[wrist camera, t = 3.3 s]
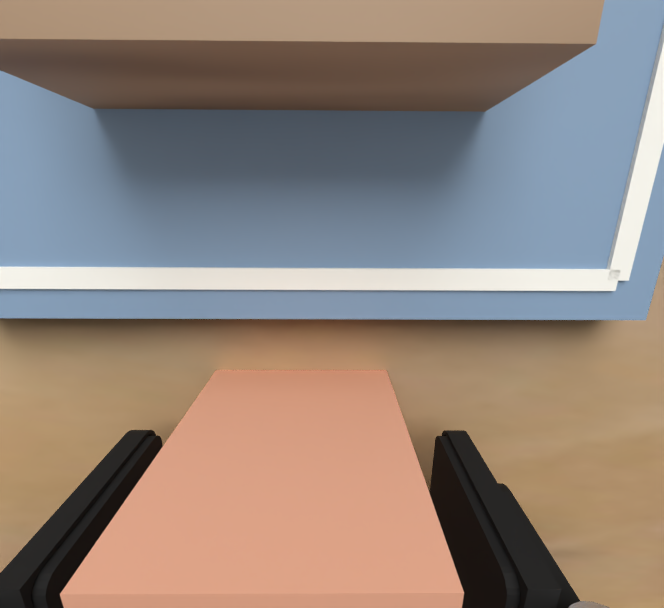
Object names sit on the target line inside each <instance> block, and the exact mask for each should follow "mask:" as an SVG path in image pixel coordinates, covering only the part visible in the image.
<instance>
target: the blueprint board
mask: <svg viewBox="0 0 664 608" xmlns="http://www.w3.org/2000/svg"><path fill="white" fill-rule="evenodd" d="M663 256H664V0H604V6H603V11H602V16H601V22H600V27H599V32H598V37H597V43H596V44H595V45H594V46H592V47H590V48H589V49H587V50H585V51H584V52H582V53H580V54H579V55H577V56H576V57H574V58H572V59H571V60H569V61H567V62H566V63H564V64H562V65H561V66H559V67H558V68H556V69H554V70H553V71H551V72H549V73H548V74H546V75H544V76H543V77H541V78H540V79H538V80H536V81H535V82H533V83H531V84H530V85H528V86H526V87H525V88H523V89H522V90H520V91H518V92H517V93H515V94H513V95H512V96H510V97H508V98H507V99H505V100H504V101H502V102H500V103H499V104H497V105H495V106H494V107H492V108H490V109H489V110H487V111H486V112H475V111H335V110H195V109H93V108H90V107H88V106H85V105H83V104H81V103H78V102H76V101H73V100H71V99H69V98H66V97H64V96H61V95H59V94H56V93H54V92H52V91H49V90H47V89H44V88H42V87H40V86H37V85H35V84H32V83H30V82H27V81H25V80H23V79H20V78H18V77H15V76H13V75H10V74H8V73H6V72H3V71H1V70H0V318H91V319H429V320H646V317H647V314H648V310H649V307H650V303H651V299H652V296H653V292H654V289H655V285H656V281H657V278H658V274H659V271H660V267H661V263H662V260H663Z"/></svg>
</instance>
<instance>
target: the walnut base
mask: <svg viewBox="0 0 664 608" xmlns="http://www.w3.org/2000/svg"><path fill="white" fill-rule="evenodd" d="M603 6H604V0H0V70H1V71H3V72H6V73H8V74H10V75H13V76H15V77H18V78H20V79H23V80H25V81H27V82H30V83H32V84H35V85H37V86H40V87H42V88H44V89H47V90H49V91H52V92H54V93H56V94H59V95H61V96H64V97H66V98H69V99H71V100H73V101H76V102H78V103H81V104H83V105H85V106H88V107H90V108H93V109H195V110H335V111H475V112H486V111H487V110H489V109H490V108H492V107H494V106H495V105H497V104H499V103H500V102H502V101H504V100H505V99H507V98H508V97H510V96H512V95H513V94H515V93H517V92H518V91H520V90H522V89H523V88H525V87H526V86H528V85H530V84H531V83H533V82H535V81H536V80H538V79H540V78H541V77H543V76H544V75H546V74H548V73H549V72H551V71H553V70H554V69H556V68H558V67H559V66H561V65H562V64H564V63H566V62H567V61H569V60H571V59H572V58H574V57H576V56H577V55H579V54H580V53H582V52H584V51H585V50H587V49H589V48H590V47H592V46H594V45H595V44H596V43H597V37H598V32H599V27H600V22H601V16H602V11H603Z"/></svg>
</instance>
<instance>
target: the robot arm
mask: <svg viewBox="0 0 664 608" xmlns="http://www.w3.org/2000/svg"><path fill="white" fill-rule="evenodd" d="M162 447H163V446H162V440H161V438H160V436H156V434H155V432H154V431H152V430H131V431H129V432H127V433H126V434H125V435H124V436H123V438H122V439H121V440H120V441H119V442H118V443H117V444H116V445H115V446H114V448H113V449H112V450H111V451H110V452H109V453H108V454H107V455H106V456H105V458H104V459H103V460H102V461H101V462H100V463H99V464H98V465H97V466H96V468H95V469H94V470H93V471H92V472H91V473H90V474H89V475H88V476H87V478H86V479H85V480H84V481H83V482H82V483H81V484H80V485H79V486H78V488H77V489H76V490H75V491H74V492H73V493H72V494H71V495H70V496H69V498H68V499H67V500H66V501H65V502H64V503H63V504H62V505H61V506H60V508H59V509H58V510H57V511H56V512H55V513H54V514H53V515H52V516H51V518H50V519H49V520H48V521H47V522H46V523H45V524H44V525H43V526H42V528H41V529H40V530H39V531H38V532H37V533H36V534H35V535H34V536H33V538H32V539H31V540H30V541H29V542H28V543H27V544H26V545H25V546H24V548H23V549H22V550H21V551H20V552H19V553H18V554H17V555H16V557H15V558H14V559H13V560H12V561H11V562H10V563H9V564H8V565H7V567H6V568H5V569H4V570H3V571H2V572H1V573H0V608H64V607H63V604H62V600H61V597H60V593H61V592H62V591H63V589H64V588H65V586H66V585H67V583H68V582H69V580H70V579H71V578H72V576H73V575H74V573H75V572H76V570H77V569H78V568H79V566H80V565H81V563H82V562H83V560H84V559H85V557H86V556H87V555H88V553H89V552H90V550H91V549H92V547H93V546H94V545H95V543H96V542H97V540H98V539H99V537H100V536H101V534H102V533H103V532H104V530H105V529H106V527H107V526H108V524H109V523H110V522H111V520H112V519H113V517H114V516H115V514H116V513H117V512H118V510H119V509H120V507H121V506H122V504H123V503H124V501H125V500H126V499H127V497H128V496H129V494H130V493H131V491H132V490H133V489H134V487H135V486H136V484H137V483H138V481H139V480H140V478H141V477H142V476H143V474H144V473H145V471H146V470H147V468H148V467H149V466H150V464H151V463H152V461H153V460H154V458H155V457H156V456H157V454H158V453H159V451H160V450H161V448H162ZM430 496H431V499H432V502H433V505H434V508H435V511H436V514H437V516H438V519H439V522H440V525H441V528H442V531H443V534H444V537H445V539H446V542H447V545H448V548H449V551H450V554H451V557H452V560H453V562H454V565H455V568H456V571H457V574H458V577H459V580H460V583H461V585H462V588H463V591H464V597H463V604H462V608H609V607H607V606H604V605H601V604H598V603H595V602H587V601H580V600H579V598H578V597H577V595H576V594H575V592H574V591H573V589H572V587H571V586H570V584H569V583H568V581H567V580H566V578H565V576H564V575H563V573H562V572H561V570H560V568H559V567H558V565H557V564H556V562H555V561H554V559H553V557H552V556H551V554H550V553H549V551H548V549H547V548H546V546H545V545H544V543H543V542H542V540H541V538H540V537H539V535H538V534H537V532H536V531H535V529H534V527H533V526H532V524H531V523H530V521H529V519H528V518H527V516H526V515H525V513H524V512H523V510H522V508H521V507H520V505H519V504H518V502H517V501H516V499H515V497H514V496H513V494H512V493H511V491H510V490H509V489H508V487H507V486H506V485H504V484H498V483H497V482H496V480H495V478H494V477H493V475H492V473H491V472H490V470H489V468H488V467H487V465H486V463H485V462H484V460H483V458H482V457H481V455H480V453H479V452H478V450H477V448H476V447H475V445H474V443H473V442H472V440H471V439H470V437H469V435H468V434H467V432H466V431H443V433H442V436H437V437H436V440H435V449H434V458H433V468H432V477H431V487H430Z"/></svg>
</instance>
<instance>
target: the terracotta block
mask: <svg viewBox="0 0 664 608" xmlns="http://www.w3.org/2000/svg"><path fill="white" fill-rule="evenodd" d="M60 597H61V600H62V604H63V607H64V608H462V604H463V597H464V591H463V588H462V585H461V583H460V580H459V577H458V574H457V571H456V568H455V565H454V562H453V560H452V557H451V554H450V551H449V548H448V545H447V542H446V539H445V537H444V534H443V531H442V528H441V525H440V522H439V519H438V516H437V514H436V511H435V508H434V505H433V502H432V499H431V496H430V493H429V491H428V488H427V485H426V482H425V479H424V476H423V473H422V470H421V468H420V465H419V462H418V459H417V456H416V453H415V450H414V447H413V445H412V442H411V439H410V436H409V433H408V430H407V427H406V424H405V422H404V419H403V416H402V413H401V410H400V407H399V404H398V401H397V399H396V396H395V393H394V390H393V387H392V384H391V381H390V378H389V376H388V373H387V370H216V371H215V372H214V374H213V375H212V377H211V378H210V379H209V381H208V382H207V384H206V385H205V387H204V388H203V389H202V391H201V392H200V394H199V395H198V397H197V398H196V400H195V401H194V402H193V404H192V405H191V407H190V408H189V410H188V411H187V412H186V414H185V415H184V417H183V418H182V420H181V421H180V422H179V424H178V425H177V427H176V428H175V430H174V431H173V433H172V434H171V435H170V437H169V438H168V440H167V441H166V443H165V444H164V445H163V447H162V448H161V450H160V451H159V453H158V454H157V456H156V457H155V458H154V460H153V461H152V463H151V464H150V466H149V467H148V468H147V470H146V471H145V473H144V474H143V476H142V477H141V478H140V480H139V481H138V483H137V484H136V486H135V487H134V489H133V490H132V491H131V493H130V494H129V496H128V497H127V499H126V500H125V501H124V503H123V504H122V506H121V507H120V509H119V510H118V512H117V513H116V514H115V516H114V517H113V519H112V520H111V522H110V523H109V524H108V526H107V527H106V529H105V530H104V532H103V533H102V534H101V536H100V537H99V539H98V540H97V542H96V543H95V545H94V546H93V547H92V549H91V550H90V552H89V553H88V555H87V556H86V557H85V559H84V560H83V562H82V563H81V565H80V566H79V568H78V569H77V570H76V572H75V573H74V575H73V576H72V578H71V579H70V580H69V582H68V583H67V585H66V586H65V588H64V589H63V591H62V592H61V593H60Z"/></svg>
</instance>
